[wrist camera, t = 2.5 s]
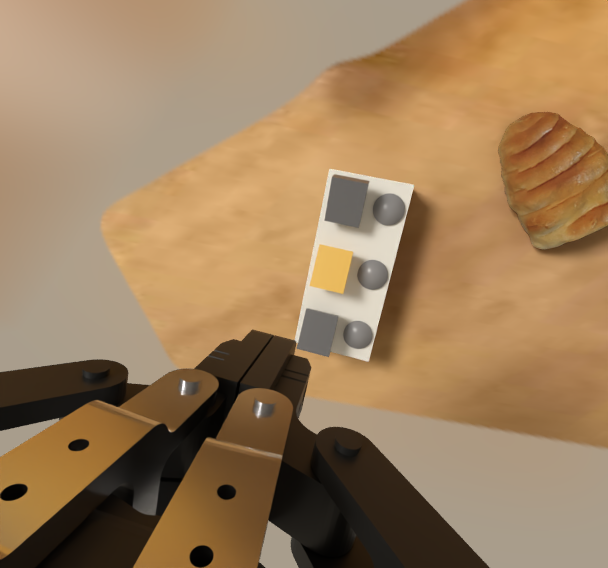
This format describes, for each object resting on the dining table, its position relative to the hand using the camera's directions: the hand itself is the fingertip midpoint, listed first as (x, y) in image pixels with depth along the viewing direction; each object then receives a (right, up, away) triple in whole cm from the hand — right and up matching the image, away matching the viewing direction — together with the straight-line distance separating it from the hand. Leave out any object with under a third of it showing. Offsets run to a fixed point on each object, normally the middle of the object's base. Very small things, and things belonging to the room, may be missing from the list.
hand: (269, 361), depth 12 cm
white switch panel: (+5, +4, +19) cm, 20 cm away
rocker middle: (+3, +4, +15) cm, 16 cm away
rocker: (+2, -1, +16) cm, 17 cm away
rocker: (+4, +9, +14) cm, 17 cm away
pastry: (+19, +10, +16) cm, 27 cm away
